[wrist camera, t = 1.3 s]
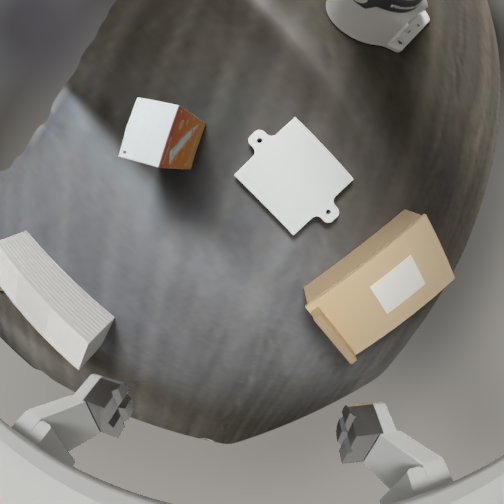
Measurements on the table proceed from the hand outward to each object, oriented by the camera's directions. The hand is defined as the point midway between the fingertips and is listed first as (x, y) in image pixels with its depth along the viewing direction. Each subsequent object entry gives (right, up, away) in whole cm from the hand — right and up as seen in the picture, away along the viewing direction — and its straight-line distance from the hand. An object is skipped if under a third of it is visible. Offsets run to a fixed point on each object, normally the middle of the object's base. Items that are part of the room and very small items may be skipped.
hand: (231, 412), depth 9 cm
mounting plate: (+7, +18, +33) cm, 38 cm away
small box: (-11, +24, +32) cm, 41 cm away
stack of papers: (-44, -3, +43) cm, 62 cm away
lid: (+21, 0, +29) cm, 36 cm away
